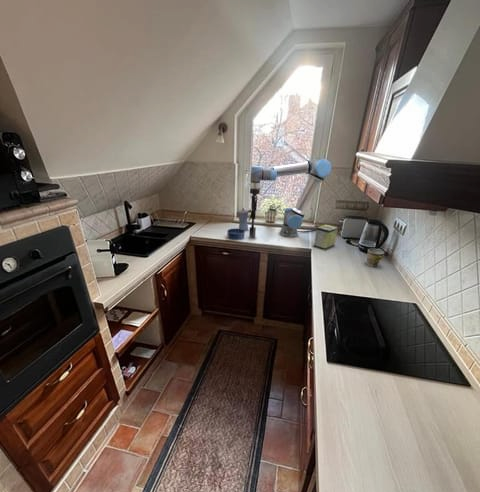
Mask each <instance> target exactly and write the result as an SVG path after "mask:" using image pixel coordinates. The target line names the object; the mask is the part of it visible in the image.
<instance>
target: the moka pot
mask: <svg viewBox="0 0 480 492" xmlns="http://www.w3.org/2000/svg"><path fill="white" fill-rule="evenodd" d="M251 212H252V209H250V210H245V209H244V208H242V209H241V210H238V211H237V212H236V215H237V217H238V220H239V222H238V229H242V230H244V231H245V232H247V231H248V232H249V225H248V221H249V222H250V221H251V220H252V218H251V214H250V215H249V213H251ZM248 216H249V219H248Z"/></svg>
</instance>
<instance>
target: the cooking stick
mask: <svg viewBox="0 0 480 492" xmlns="http://www.w3.org/2000/svg"><path fill="white" fill-rule="evenodd" d="M252 210H253V208H252V209H251V211H252ZM250 225H251V226H250V227H251V228H252V229H253V228H254V227H255V219H252V218H251V224H250Z"/></svg>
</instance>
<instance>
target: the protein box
mask: <svg viewBox="0 0 480 492" xmlns="http://www.w3.org/2000/svg"><path fill="white" fill-rule="evenodd" d="M316 229H317V230H315V237H314V242H313V248H317V249H320V250H324V251H326V250H328V249H331V248H332V247H334V246H335V244H336V239H337V236H338V235H337V234H338V231H339V226H336V225H331V224H327V223H326V224H324V225H321V226H318V227H316Z"/></svg>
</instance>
